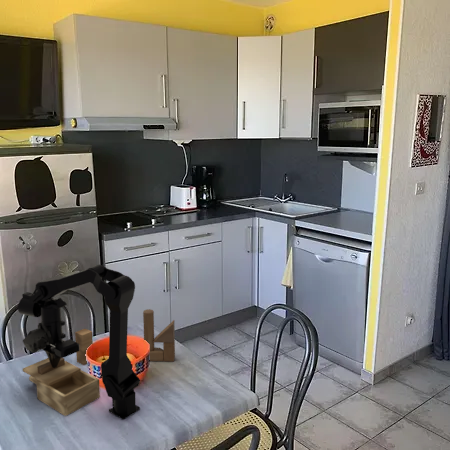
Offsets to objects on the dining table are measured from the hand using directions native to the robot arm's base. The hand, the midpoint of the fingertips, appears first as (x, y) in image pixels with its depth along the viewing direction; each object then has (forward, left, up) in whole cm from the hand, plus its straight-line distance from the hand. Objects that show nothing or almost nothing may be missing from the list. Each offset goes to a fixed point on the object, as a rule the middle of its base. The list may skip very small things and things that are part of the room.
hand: (54, 367), depth 142 cm
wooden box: (-1, 0, -8) cm, 8 cm away
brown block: (+9, -17, -8) cm, 21 cm away
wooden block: (-10, -34, -8) cm, 37 cm away
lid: (+2, 0, -2) cm, 3 cm away
